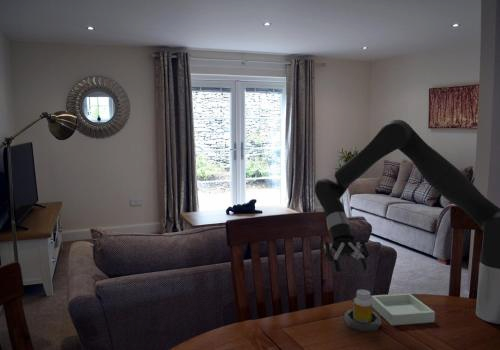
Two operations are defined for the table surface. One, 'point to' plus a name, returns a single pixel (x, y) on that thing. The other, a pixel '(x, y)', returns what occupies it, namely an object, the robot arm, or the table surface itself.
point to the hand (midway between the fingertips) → (351, 271)
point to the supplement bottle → (362, 307)
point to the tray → (402, 309)
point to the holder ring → (362, 326)
